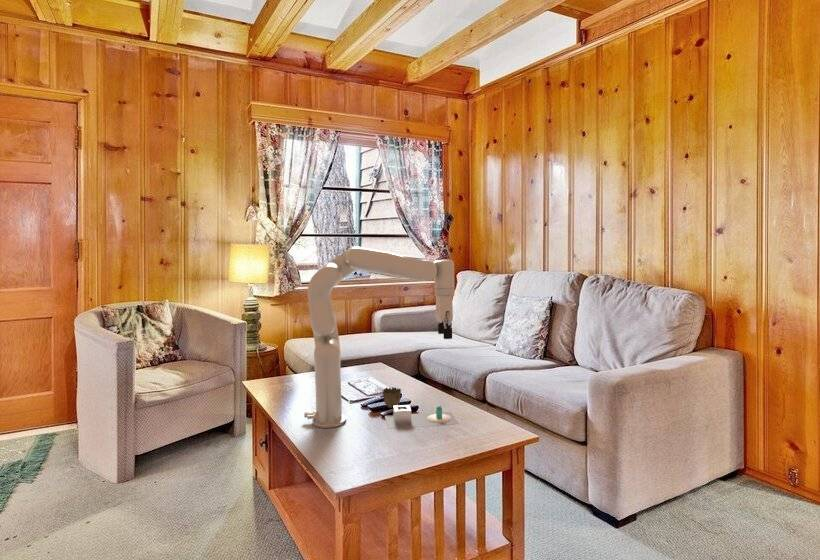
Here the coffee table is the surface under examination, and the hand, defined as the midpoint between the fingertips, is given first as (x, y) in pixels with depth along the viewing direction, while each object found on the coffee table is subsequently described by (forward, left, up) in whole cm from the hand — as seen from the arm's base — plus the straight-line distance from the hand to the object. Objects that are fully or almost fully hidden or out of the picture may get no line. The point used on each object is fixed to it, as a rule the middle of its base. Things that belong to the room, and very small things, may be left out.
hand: (444, 336), depth 196 cm
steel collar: (-18, -7, -30) cm, 36 cm away
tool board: (-11, -7, -31) cm, 34 cm away
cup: (-20, +10, -31) cm, 38 cm away
